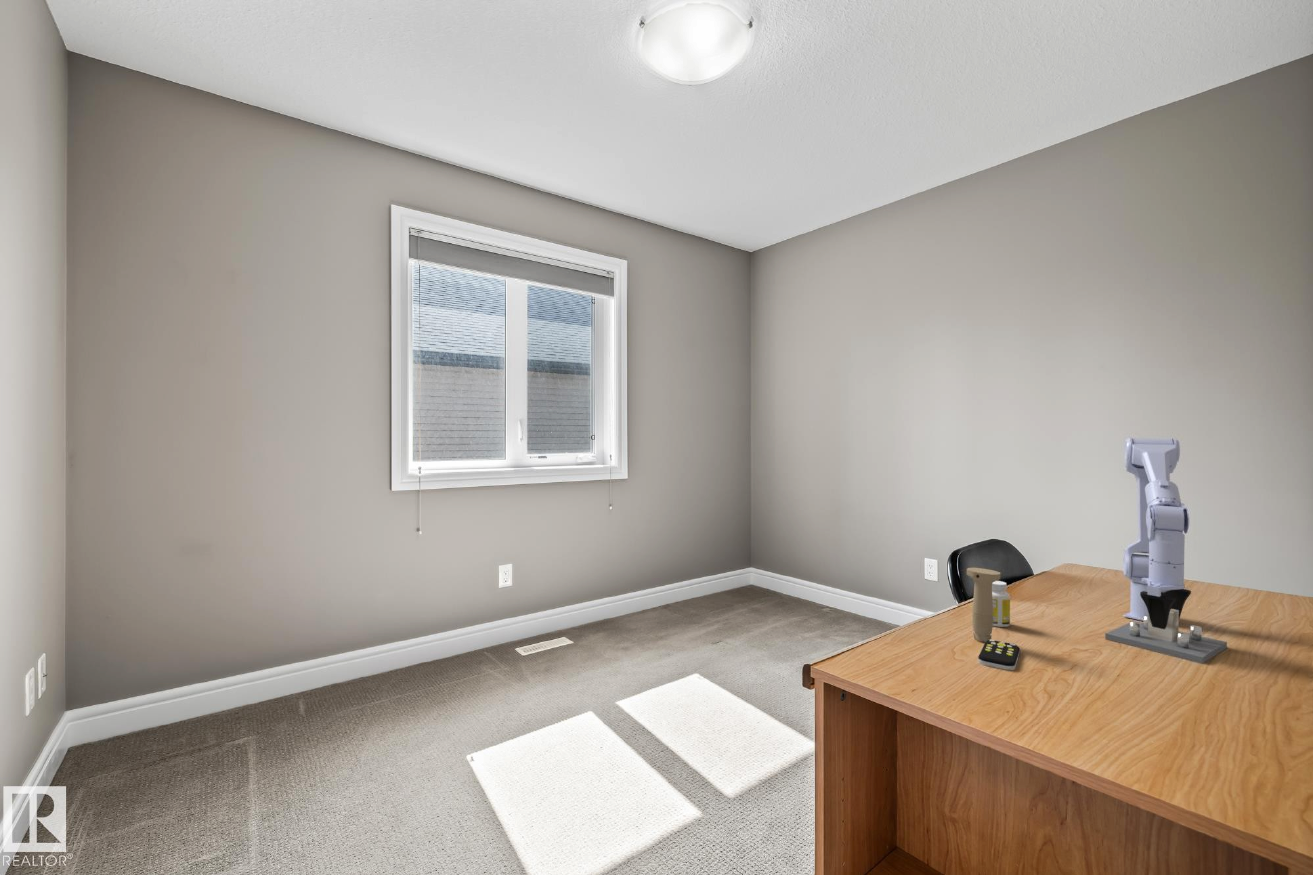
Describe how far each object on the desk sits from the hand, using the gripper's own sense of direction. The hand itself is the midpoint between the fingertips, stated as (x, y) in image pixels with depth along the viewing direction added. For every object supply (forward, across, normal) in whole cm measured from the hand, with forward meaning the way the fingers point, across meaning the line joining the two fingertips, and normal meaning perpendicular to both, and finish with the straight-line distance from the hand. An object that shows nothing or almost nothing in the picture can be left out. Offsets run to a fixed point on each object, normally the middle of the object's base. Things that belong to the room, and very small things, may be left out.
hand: (1165, 624), depth 125 cm
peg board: (+4, 0, 0) cm, 4 cm away
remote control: (+5, +39, -15) cm, 42 cm away
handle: (+4, +32, -22) cm, 39 cm away
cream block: (+3, 0, 0) cm, 3 cm away
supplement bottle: (+4, +18, -26) cm, 32 cm away
